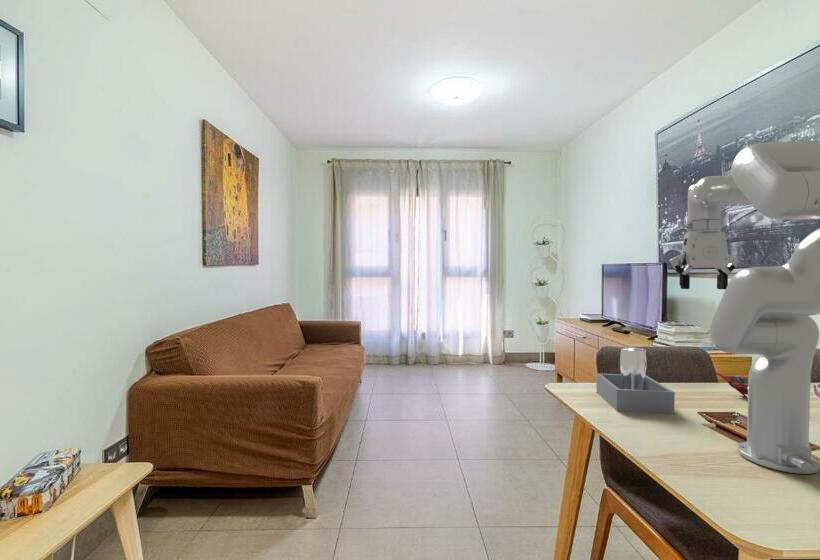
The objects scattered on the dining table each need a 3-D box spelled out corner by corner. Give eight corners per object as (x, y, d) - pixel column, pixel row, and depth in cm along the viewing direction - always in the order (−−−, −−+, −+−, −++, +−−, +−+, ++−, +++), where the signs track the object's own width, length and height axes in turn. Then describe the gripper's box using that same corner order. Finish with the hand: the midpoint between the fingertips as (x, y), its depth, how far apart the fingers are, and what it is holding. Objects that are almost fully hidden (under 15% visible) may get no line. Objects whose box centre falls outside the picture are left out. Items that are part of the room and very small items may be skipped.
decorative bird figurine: (768, 407, 115) (769, 373, 115) (709, 389, 133) (710, 359, 132) (775, 406, 116) (776, 372, 116) (716, 389, 133) (716, 359, 133)
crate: (674, 413, 110) (674, 392, 110) (616, 410, 113) (616, 389, 112) (645, 393, 128) (646, 375, 128) (596, 391, 130) (596, 373, 130)
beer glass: (639, 395, 123) (640, 347, 123) (650, 402, 117) (651, 351, 116) (615, 394, 124) (616, 346, 124) (625, 401, 117) (626, 351, 117)
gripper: (678, 226, 109) (678, 289, 109) (747, 225, 107) (746, 289, 107) (663, 229, 116) (663, 288, 116) (727, 229, 114) (727, 288, 114)
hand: (703, 289), depth 111 cm, fingers open, 9 cm apart
